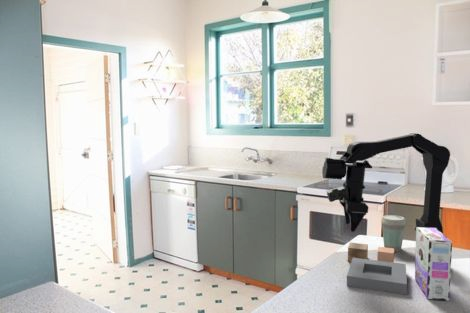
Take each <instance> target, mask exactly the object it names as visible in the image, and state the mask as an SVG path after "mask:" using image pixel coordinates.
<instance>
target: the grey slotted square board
mask: <svg viewBox="0 0 470 313" xmlns="http://www.w3.org/2000/svg"><path fill="white" fill-rule="evenodd" d="M346 274H347V275H346V286H347V287H353V288H359V289H366V290H367V289H368V290H372V291H373V290H374V291H379V292H386V293H393V294H394V293H395V294H400V295H401V294H402V295H407V288H408V286H407V284H408V283H407V280H408V279H407V264H406V263H400V262H395V261H394V262H385V261H377V260H375V259H368V258H367V259H361V258H352V262H350V264H349V268H348V271H347V273H346Z"/></svg>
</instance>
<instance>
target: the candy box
mask: <svg viewBox="0 0 470 313" xmlns="http://www.w3.org/2000/svg"><path fill="white" fill-rule="evenodd" d="M415 227H416V226H415ZM452 249H453V241H452V240H450V239H449V237H447V236H446V235H445V234H444V233H443V234H442V233H441V232H440V231H439V230H438V229H437V228H426V227H416V230H415V259H414V260H415V261H414V262H415V268H414V270H415V271H414V272H415V273H414V280H415V282H416V284H417V285H418V287H419V288H420V290H421V291H422V293H423V294H424V295H425V296H424V297H426V299H427V300H435V301H436V300H438V301H448V302H449V301H450V297H451V296H450V292H451V272H452V271H451V270H452V257H453V256H452V251H453V250H452Z"/></svg>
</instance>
